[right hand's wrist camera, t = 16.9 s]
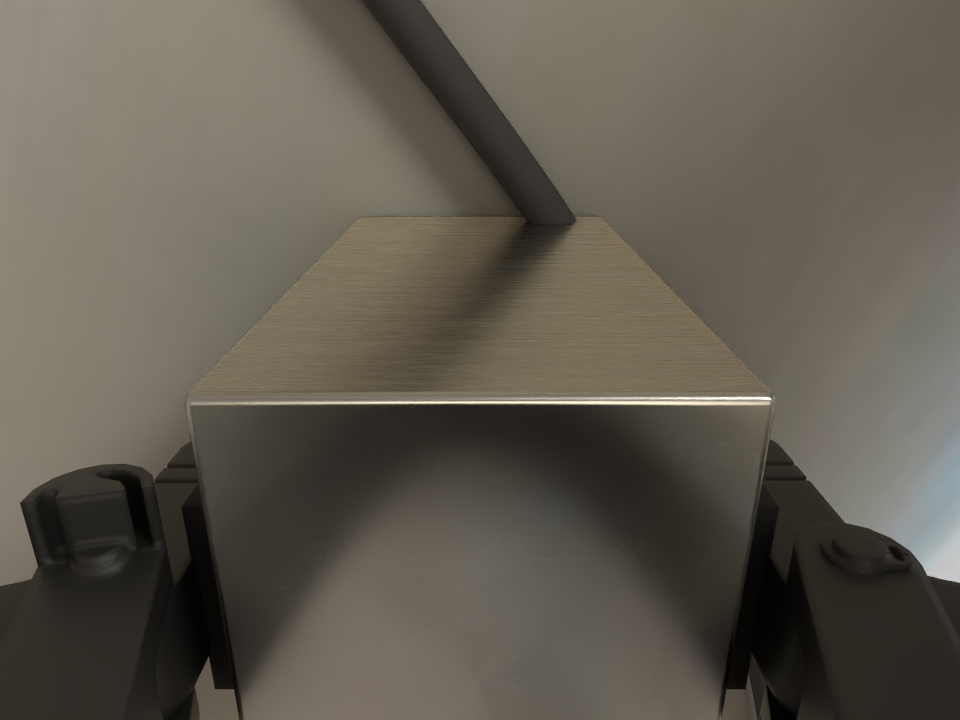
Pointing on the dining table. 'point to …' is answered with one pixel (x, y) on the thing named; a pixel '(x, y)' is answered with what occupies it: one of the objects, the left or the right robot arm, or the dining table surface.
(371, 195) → the dining table surface
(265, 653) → the metal block
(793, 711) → the right robot arm
